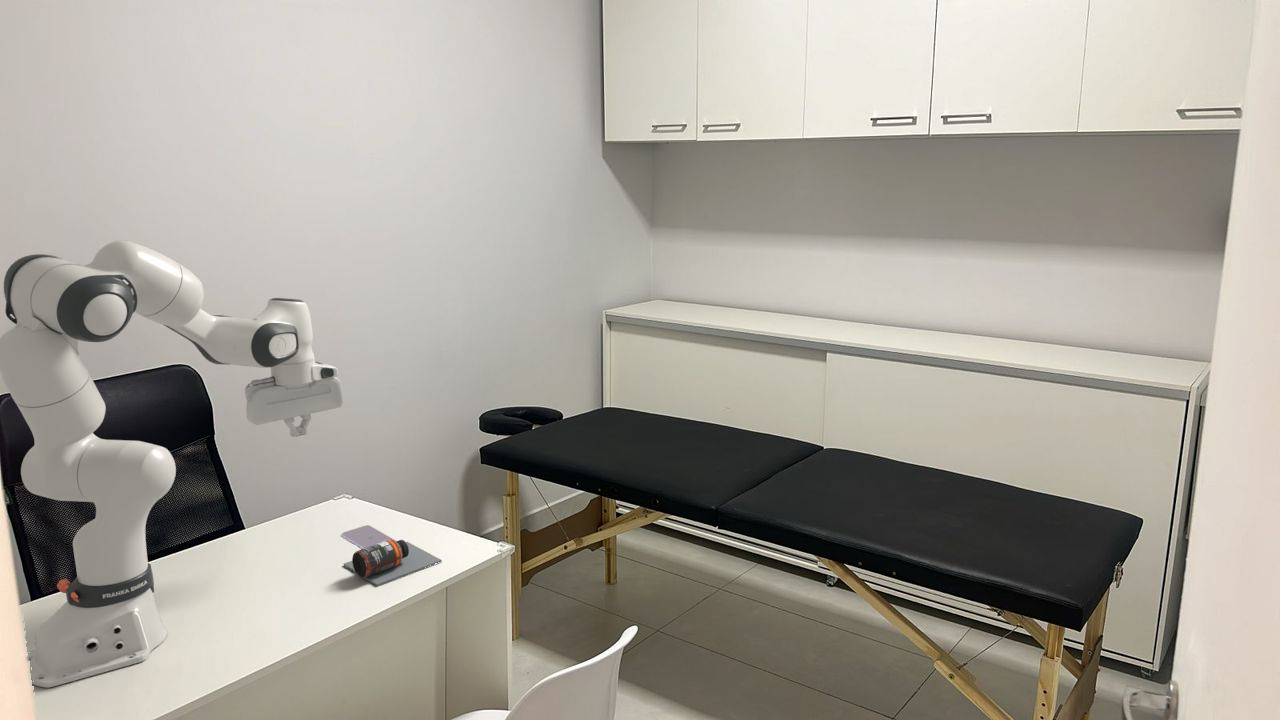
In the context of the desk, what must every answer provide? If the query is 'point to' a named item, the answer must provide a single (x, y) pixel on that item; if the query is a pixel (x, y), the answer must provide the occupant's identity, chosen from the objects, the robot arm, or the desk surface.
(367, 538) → the mobile phone
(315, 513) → the desk surface
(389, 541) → the supplement bottle
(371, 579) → the mat
